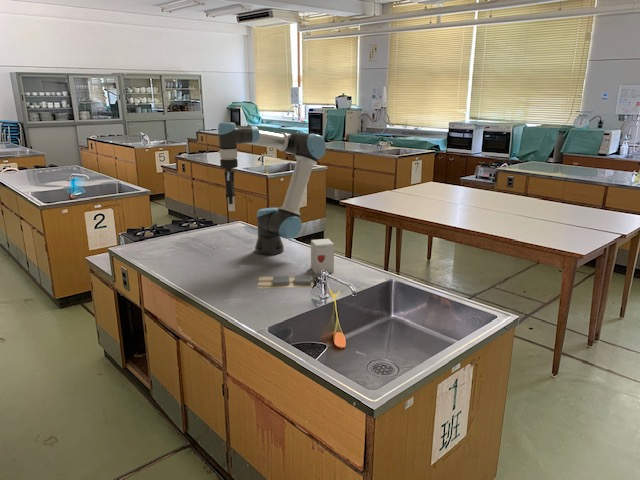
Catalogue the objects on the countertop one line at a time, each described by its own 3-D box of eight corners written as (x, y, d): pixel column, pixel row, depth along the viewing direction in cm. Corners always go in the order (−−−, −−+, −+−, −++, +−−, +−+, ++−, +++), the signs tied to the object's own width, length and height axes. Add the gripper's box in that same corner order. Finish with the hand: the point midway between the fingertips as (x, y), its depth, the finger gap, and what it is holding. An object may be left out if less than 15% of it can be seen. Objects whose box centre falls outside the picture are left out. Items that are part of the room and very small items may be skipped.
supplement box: (315, 276, 224) (315, 245, 220) (310, 269, 233) (310, 239, 228) (334, 274, 227) (334, 243, 222) (328, 268, 235) (328, 238, 231)
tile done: (294, 279, 218) (294, 275, 217) (310, 278, 218) (310, 275, 218) (294, 285, 211) (294, 281, 211) (311, 284, 211) (311, 281, 211)
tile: (273, 276, 217) (272, 282, 210) (289, 276, 217) (289, 281, 211) (273, 279, 217) (272, 285, 211) (289, 279, 218) (289, 285, 211)
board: (259, 279, 221) (259, 276, 221) (312, 277, 223) (312, 275, 222) (257, 291, 208) (257, 288, 208) (313, 289, 209) (313, 286, 209)
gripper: (222, 156, 222) (225, 207, 229) (218, 160, 210) (221, 214, 216) (238, 156, 222) (241, 207, 229) (235, 160, 210) (238, 213, 217)
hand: (231, 210), depth 223 cm, fingers closed
